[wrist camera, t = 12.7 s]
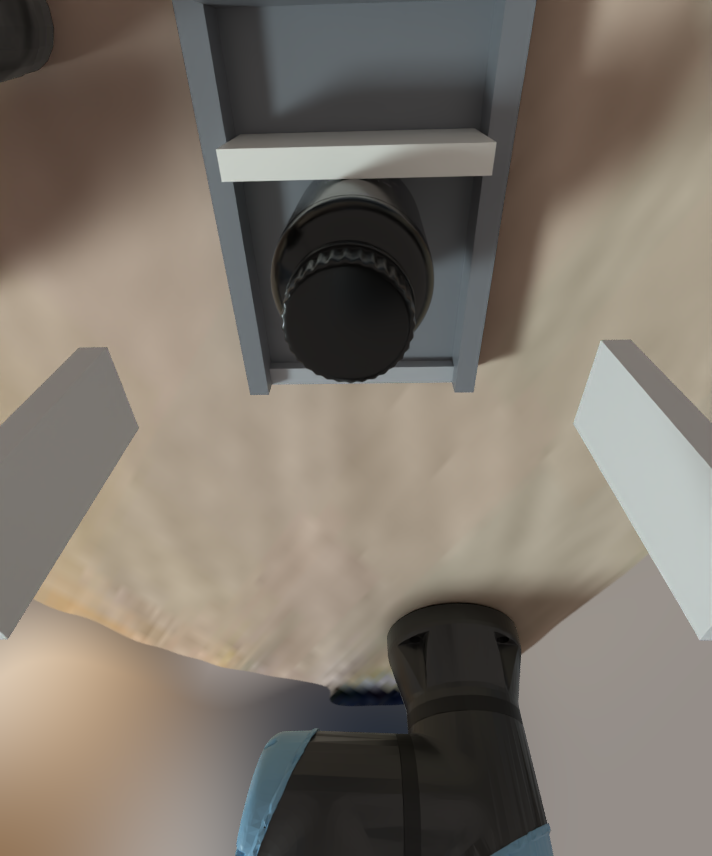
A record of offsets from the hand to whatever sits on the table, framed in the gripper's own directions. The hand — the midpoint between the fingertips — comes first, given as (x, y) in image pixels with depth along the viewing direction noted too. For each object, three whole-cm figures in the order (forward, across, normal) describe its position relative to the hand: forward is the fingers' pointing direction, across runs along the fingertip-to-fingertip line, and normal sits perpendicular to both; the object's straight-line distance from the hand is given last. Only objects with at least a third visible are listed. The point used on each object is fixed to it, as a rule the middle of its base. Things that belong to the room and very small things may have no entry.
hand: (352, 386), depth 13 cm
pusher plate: (+16, 0, -4) cm, 16 cm away
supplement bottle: (+16, 0, 0) cm, 16 cm away
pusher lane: (+17, 0, 0) cm, 17 cm away
